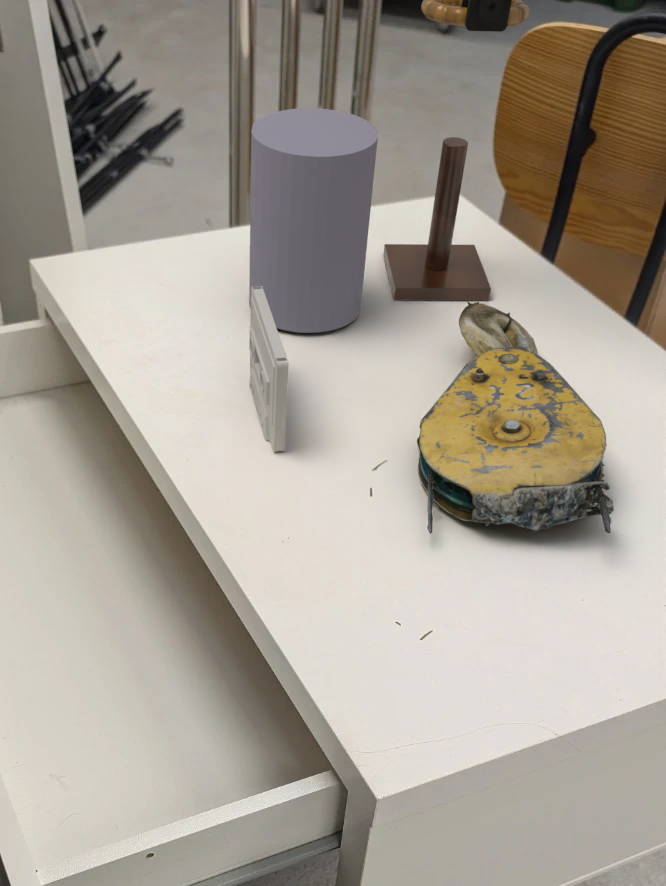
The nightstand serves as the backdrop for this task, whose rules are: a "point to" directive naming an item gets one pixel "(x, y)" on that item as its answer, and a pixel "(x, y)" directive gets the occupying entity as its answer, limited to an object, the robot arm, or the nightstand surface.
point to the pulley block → (511, 436)
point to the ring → (446, 8)
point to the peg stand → (439, 245)
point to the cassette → (268, 370)
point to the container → (311, 215)
